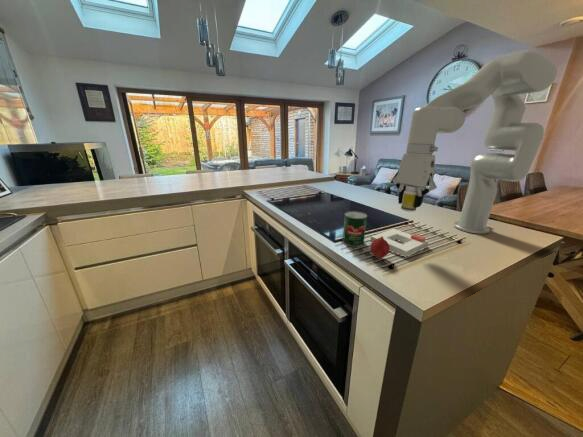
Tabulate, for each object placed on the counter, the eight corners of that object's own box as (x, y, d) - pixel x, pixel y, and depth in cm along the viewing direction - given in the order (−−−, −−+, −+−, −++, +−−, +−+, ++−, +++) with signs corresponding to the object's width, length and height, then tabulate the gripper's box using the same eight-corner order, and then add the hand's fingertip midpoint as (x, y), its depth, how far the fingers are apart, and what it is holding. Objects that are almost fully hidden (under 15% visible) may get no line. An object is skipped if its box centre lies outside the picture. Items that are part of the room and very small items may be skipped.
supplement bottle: (417, 212, 78) (422, 187, 76) (402, 211, 79) (407, 186, 76) (413, 208, 83) (418, 184, 80) (399, 207, 84) (403, 184, 81)
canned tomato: (356, 236, 93) (359, 210, 90) (368, 245, 86) (371, 216, 83) (338, 238, 91) (340, 212, 87) (349, 247, 84) (352, 219, 80)
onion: (365, 255, 79) (368, 234, 76) (378, 252, 81) (381, 231, 78) (377, 264, 74) (381, 241, 71) (391, 260, 76) (395, 238, 73)
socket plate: (392, 234, 96) (394, 226, 94) (427, 247, 85) (429, 238, 83) (370, 242, 88) (371, 234, 87) (405, 258, 77) (406, 248, 76)
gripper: (454, 151, 70) (440, 209, 76) (401, 148, 83) (393, 198, 89) (442, 152, 66) (428, 213, 72) (388, 148, 79) (380, 200, 85)
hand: (409, 204), depth 80 cm, fingers closed on supplement bottle, 4 cm apart
